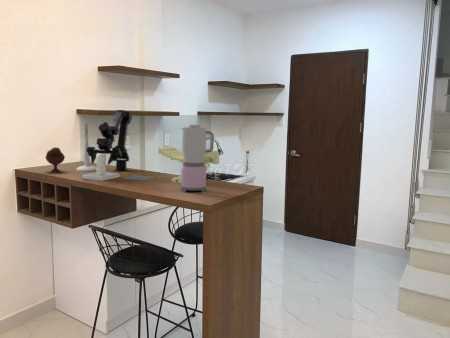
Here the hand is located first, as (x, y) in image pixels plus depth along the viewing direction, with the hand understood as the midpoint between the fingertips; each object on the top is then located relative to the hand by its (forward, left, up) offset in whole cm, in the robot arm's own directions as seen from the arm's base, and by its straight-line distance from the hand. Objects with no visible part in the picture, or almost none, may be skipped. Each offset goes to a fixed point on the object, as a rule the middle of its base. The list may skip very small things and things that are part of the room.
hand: (100, 163), depth 204 cm
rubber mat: (-12, +18, -8) cm, 23 cm away
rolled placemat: (-1, 0, -8) cm, 8 cm away
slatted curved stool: (-20, +45, -9) cm, 50 cm away
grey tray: (-1, 0, -8) cm, 9 cm away
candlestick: (-23, -30, -9) cm, 39 cm away
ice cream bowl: (-7, -40, -9) cm, 42 cm away
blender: (+2, +61, -9) cm, 61 cm away
